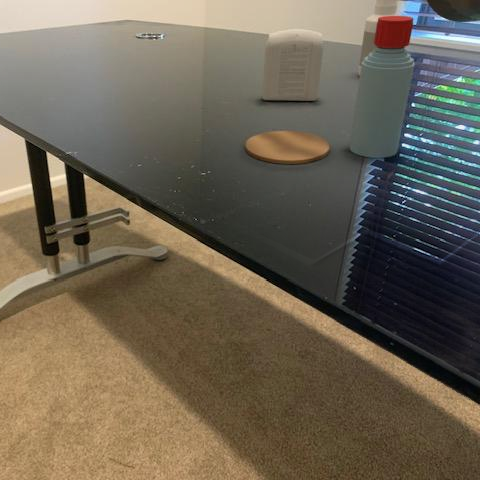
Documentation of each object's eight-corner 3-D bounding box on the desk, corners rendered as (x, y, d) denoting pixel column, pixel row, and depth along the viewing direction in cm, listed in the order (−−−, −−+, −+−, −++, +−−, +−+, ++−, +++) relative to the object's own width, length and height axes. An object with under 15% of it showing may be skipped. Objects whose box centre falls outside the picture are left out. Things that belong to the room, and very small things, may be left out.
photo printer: (317, 95, 96) (324, 26, 90) (318, 102, 93) (326, 30, 86) (262, 95, 98) (265, 28, 92) (261, 102, 95) (265, 32, 88)
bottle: (365, 138, 76) (385, 16, 67) (406, 149, 71) (433, 20, 63) (340, 149, 73) (357, 23, 64) (380, 161, 68) (405, 27, 59)
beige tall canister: (357, 79, 105) (371, -18, 96) (357, 71, 110) (371, -21, 101) (393, 79, 103) (411, -19, 94) (391, 72, 108) (408, -22, 99)
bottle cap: (385, 40, 67) (389, 14, 66) (415, 43, 64) (420, 17, 63) (367, 45, 65) (371, 19, 63) (397, 49, 62) (402, 21, 61)
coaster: (281, 129, 81) (282, 125, 81) (346, 147, 73) (346, 144, 73) (228, 148, 75) (228, 144, 75) (292, 171, 67) (292, 167, 67)
